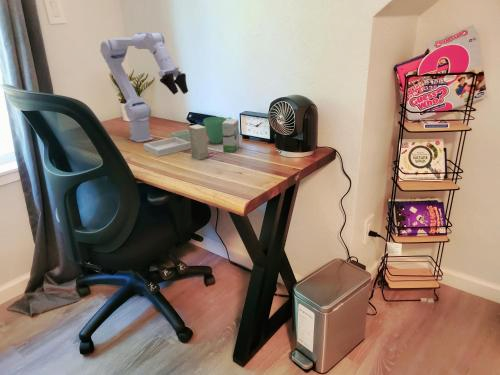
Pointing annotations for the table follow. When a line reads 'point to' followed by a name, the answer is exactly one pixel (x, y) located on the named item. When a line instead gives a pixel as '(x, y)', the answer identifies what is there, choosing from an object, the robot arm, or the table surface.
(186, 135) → the small crate
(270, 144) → the table surface
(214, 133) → the mug
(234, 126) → the ink box
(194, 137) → the skincare box
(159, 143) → the white square tray
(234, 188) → the table surface
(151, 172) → the table surface
